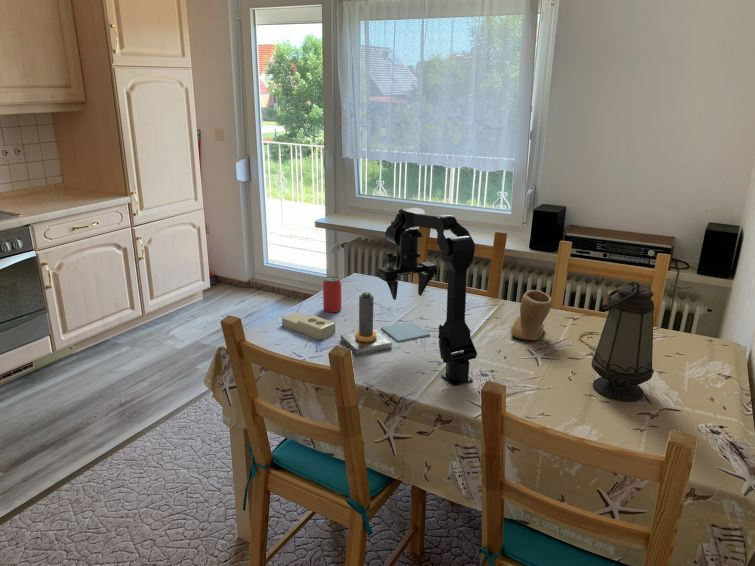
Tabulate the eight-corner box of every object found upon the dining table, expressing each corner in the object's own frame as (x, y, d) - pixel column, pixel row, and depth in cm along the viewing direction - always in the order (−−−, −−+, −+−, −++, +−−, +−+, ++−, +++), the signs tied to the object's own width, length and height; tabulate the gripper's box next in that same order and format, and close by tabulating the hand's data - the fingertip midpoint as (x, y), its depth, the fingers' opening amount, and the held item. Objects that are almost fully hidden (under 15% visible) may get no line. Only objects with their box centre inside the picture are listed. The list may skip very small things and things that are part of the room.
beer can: (340, 313, 197) (340, 281, 193) (322, 312, 197) (321, 281, 193) (342, 306, 203) (341, 275, 199) (324, 306, 203) (323, 275, 200)
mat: (430, 335, 180) (430, 333, 179) (398, 342, 174) (398, 340, 174) (411, 322, 190) (411, 321, 189) (380, 328, 184) (380, 327, 184)
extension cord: (573, 349, 173) (574, 344, 172) (581, 332, 186) (582, 327, 185) (614, 358, 167) (615, 352, 166) (620, 340, 180) (621, 334, 179)
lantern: (649, 413, 137) (671, 300, 127) (585, 399, 143) (601, 290, 133) (649, 381, 153) (669, 279, 143) (591, 369, 159) (606, 270, 149)
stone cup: (543, 346, 173) (549, 302, 168) (506, 338, 178) (510, 295, 173) (551, 329, 186) (557, 287, 181) (516, 323, 191) (521, 282, 186)
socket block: (391, 348, 170) (391, 342, 169) (356, 355, 165) (356, 349, 164) (374, 333, 180) (374, 328, 179) (340, 340, 175) (340, 334, 174)
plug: (379, 346, 171) (380, 295, 166) (361, 350, 168) (361, 298, 163) (370, 338, 177) (371, 289, 171) (352, 342, 174) (352, 291, 168)
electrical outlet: (297, 309, 190) (335, 322, 179) (297, 320, 191) (335, 333, 181) (281, 315, 185) (320, 329, 174) (282, 326, 186) (320, 340, 175)
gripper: (421, 240, 177) (419, 285, 182) (369, 246, 169) (369, 293, 174) (440, 248, 168) (437, 296, 173) (386, 255, 160) (385, 305, 165)
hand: (407, 297), depth 171 cm, fingers open, 9 cm apart
